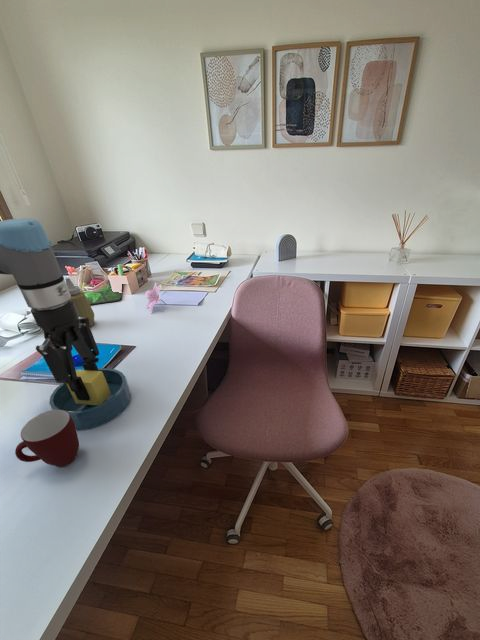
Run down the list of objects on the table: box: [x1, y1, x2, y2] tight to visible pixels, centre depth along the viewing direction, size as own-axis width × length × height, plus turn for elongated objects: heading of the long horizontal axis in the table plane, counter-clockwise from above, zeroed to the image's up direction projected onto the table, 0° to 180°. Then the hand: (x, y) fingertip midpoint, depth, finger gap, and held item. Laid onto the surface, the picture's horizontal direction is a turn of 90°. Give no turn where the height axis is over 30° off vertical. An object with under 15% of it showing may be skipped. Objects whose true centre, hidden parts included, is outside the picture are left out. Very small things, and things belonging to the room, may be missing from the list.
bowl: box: [48, 367, 132, 431], centre depth 74 cm, size 17×17×5 cm
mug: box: [14, 409, 80, 468], centre depth 58 cm, size 11×8×10 cm
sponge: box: [66, 369, 111, 405], centre depth 72 cm, size 6×4×7 cm
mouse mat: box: [80, 284, 123, 306], centre depth 136 cm, size 27×22×1 cm
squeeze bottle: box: [64, 277, 95, 328], centre depth 106 cm, size 8×8×18 cm
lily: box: [145, 282, 167, 314], centre depth 120 cm, size 12×12×10 cm
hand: (90, 391), depth 73 cm, fingers closed on sponge, 4 cm apart
